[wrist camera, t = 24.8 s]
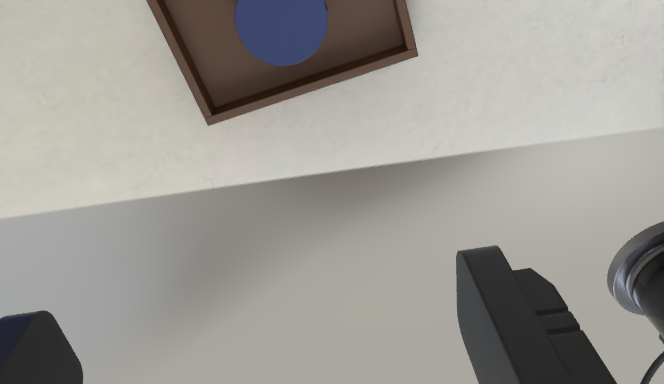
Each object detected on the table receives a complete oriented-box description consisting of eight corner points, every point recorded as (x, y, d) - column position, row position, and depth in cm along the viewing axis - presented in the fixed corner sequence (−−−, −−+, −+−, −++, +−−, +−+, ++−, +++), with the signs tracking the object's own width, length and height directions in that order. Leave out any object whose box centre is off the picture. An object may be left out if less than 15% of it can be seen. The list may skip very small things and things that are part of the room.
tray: (412, 47, 36) (418, 56, 34) (212, 114, 38) (208, 126, 36) (373, -114, 31) (378, -114, 29) (143, -28, 32) (134, -23, 31)
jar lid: (234, -36, 32) (231, -32, 30) (328, -33, 32) (329, -29, 31) (239, 57, 35) (237, 65, 33) (325, 58, 35) (326, 67, 34)
